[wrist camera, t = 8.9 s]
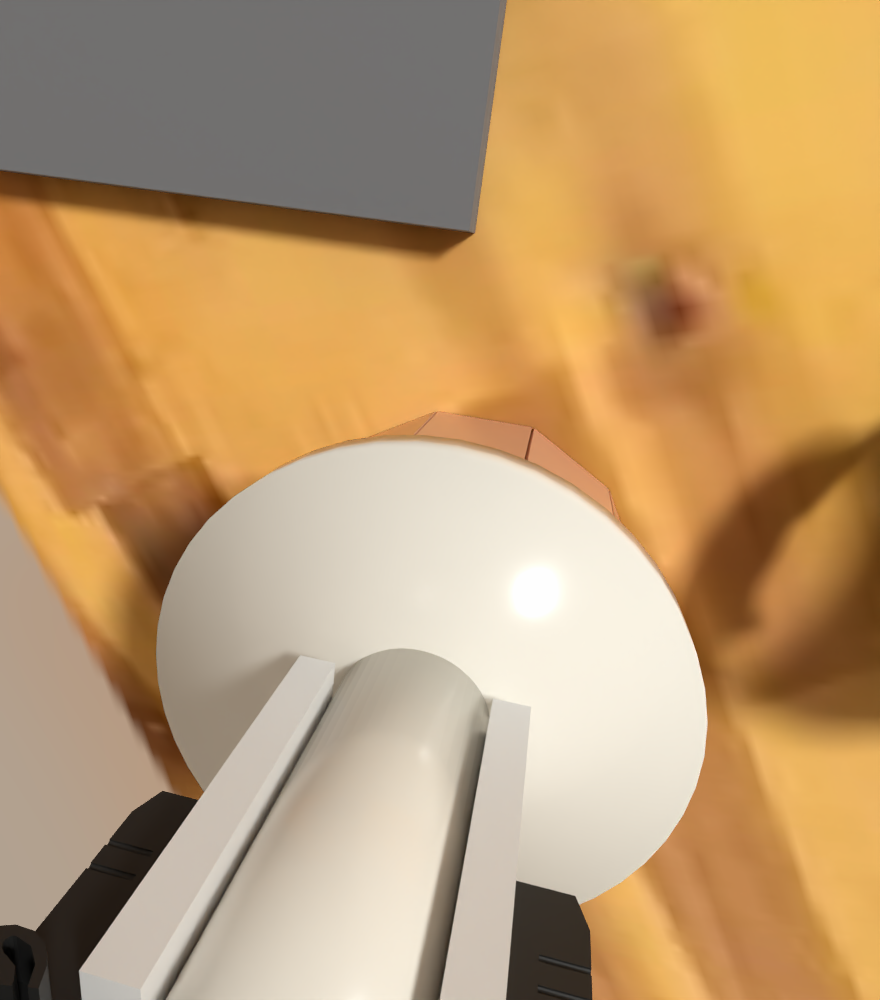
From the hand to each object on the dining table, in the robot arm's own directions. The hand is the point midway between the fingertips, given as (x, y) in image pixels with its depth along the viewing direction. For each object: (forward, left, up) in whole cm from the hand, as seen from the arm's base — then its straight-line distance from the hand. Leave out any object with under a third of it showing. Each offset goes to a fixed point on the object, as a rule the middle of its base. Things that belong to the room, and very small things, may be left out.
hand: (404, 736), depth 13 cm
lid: (0, 0, -2) cm, 2 cm away
